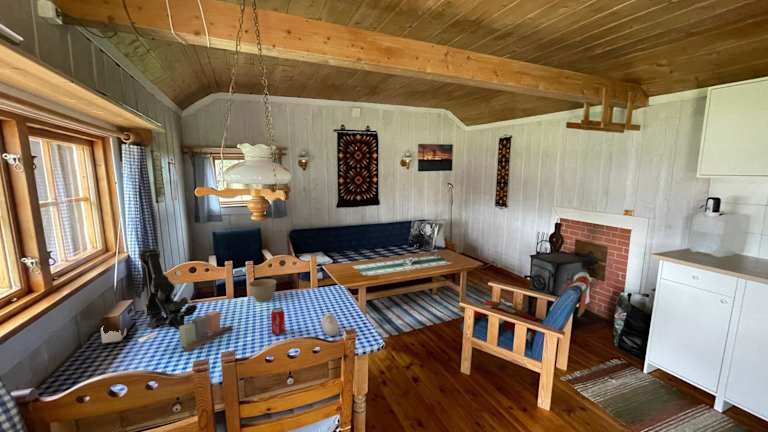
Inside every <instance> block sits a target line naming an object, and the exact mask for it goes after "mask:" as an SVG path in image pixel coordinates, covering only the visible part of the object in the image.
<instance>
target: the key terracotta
mask: <svg viewBox="0 0 768 432" xmlns="http://www.w3.org/2000/svg"><path fill="white" fill-rule="evenodd" d="M205 317H206V321H207V333H211V334H213V333H215V332H217V331H219V330H221V315H220V311H218V310H211V311H209V312H206V313H205Z"/></svg>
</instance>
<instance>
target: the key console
mask: <svg viewBox="0 0 768 432" xmlns="http://www.w3.org/2000/svg"><path fill="white" fill-rule="evenodd" d="M232 330H233V326H232V325H230V324H229V325H227V326H226V327H223V328H220V330H217V331H215V332H213V333H211V334H209V335H208V334H207V336H205V337H203V338H201V339H199V340H198V339H197V340H196V342H194V343H192V344H190V345H188V346H185V347H183V352H184V353H188V352H190V351H192V350H194V349H196V348H198V347H201V346H202V345H204V344H206V343H208V342H210V341H212V340H213V339H214V340H215V339H216V338H218V337H221V336H222V335H224V334H226V333H228V332H230V331H232Z"/></svg>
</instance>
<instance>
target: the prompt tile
mask: <svg viewBox="0 0 768 432" xmlns="http://www.w3.org/2000/svg"><path fill="white" fill-rule="evenodd" d="M157 335H158V334H157V333H154V332H153V333H151V334H147V335H145V336H143V337H140V338H139V339H137V342H139V343H140V342H141V343H142V342H143V341H145V340H148V339H151V338H153V337H155V336H157Z"/></svg>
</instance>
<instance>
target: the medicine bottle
mask: <svg viewBox="0 0 768 432" xmlns="http://www.w3.org/2000/svg"><path fill="white" fill-rule="evenodd" d="M100 335H101V343H102V344H108V343H113V342H114V343H115V342H121V341H122V340H123V339H124V338H123V337H125V336H126V335H127V327H126V328H125V330H124V334H123V336H122V335H121V331H120V330H119V332H116V331H114V332H113V331H109V332H108V333H106V334H105V333H104V331H103V327H101V329H100Z"/></svg>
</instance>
